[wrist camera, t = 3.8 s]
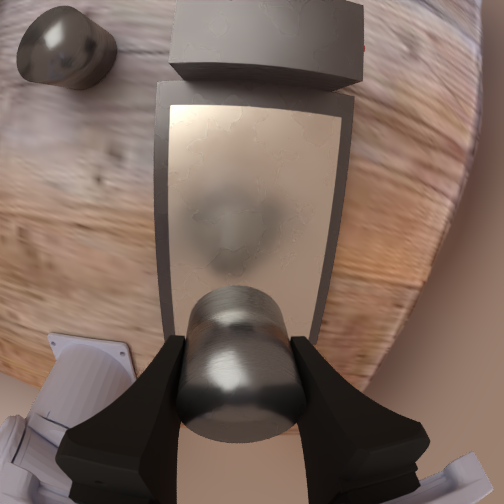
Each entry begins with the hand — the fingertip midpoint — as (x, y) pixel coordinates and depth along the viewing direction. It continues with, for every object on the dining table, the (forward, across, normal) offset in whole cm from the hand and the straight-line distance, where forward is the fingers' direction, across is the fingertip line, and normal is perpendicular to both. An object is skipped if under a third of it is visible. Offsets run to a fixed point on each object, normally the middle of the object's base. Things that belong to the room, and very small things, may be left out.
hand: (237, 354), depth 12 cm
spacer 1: (+8, +10, -14) cm, 19 cm away
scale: (+8, -1, -5) cm, 10 cm away
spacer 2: (+2, 0, 0) cm, 2 cm away
